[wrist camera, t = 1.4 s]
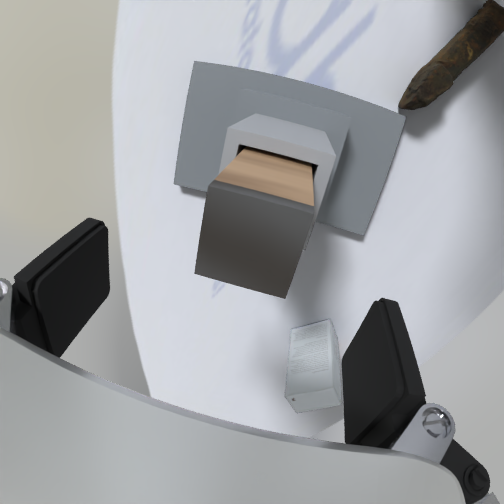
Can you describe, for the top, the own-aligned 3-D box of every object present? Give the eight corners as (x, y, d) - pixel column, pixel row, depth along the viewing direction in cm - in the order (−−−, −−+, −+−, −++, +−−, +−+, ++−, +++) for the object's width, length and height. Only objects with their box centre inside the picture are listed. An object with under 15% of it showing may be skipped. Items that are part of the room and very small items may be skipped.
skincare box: (300, 347, 46) (294, 414, 35) (290, 328, 44) (282, 396, 34) (339, 338, 44) (342, 406, 33) (331, 317, 42) (333, 387, 32)
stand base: (199, 61, 29) (117, 49, 15) (402, 115, 28) (474, 142, 14) (178, 180, 36) (104, 244, 22) (361, 229, 35) (389, 322, 21)
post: (264, 128, 26) (207, 184, 11) (310, 140, 26) (315, 213, 11) (254, 171, 28) (193, 273, 14) (298, 183, 28) (285, 299, 13)
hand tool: (480, 1, 19) (500, -5, 15) (501, 29, 20) (522, 26, 16) (379, 86, 27) (391, 86, 23) (404, 115, 28) (418, 120, 24)
